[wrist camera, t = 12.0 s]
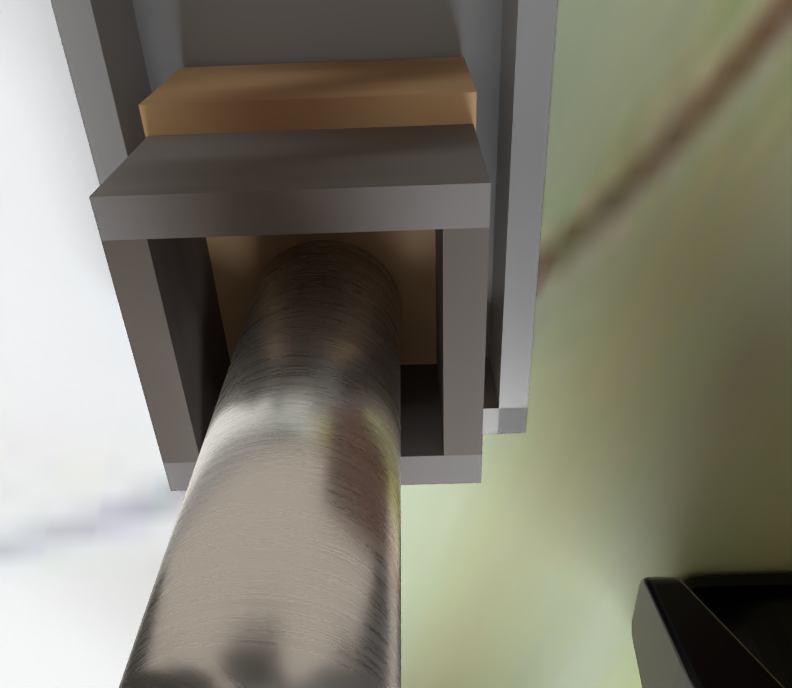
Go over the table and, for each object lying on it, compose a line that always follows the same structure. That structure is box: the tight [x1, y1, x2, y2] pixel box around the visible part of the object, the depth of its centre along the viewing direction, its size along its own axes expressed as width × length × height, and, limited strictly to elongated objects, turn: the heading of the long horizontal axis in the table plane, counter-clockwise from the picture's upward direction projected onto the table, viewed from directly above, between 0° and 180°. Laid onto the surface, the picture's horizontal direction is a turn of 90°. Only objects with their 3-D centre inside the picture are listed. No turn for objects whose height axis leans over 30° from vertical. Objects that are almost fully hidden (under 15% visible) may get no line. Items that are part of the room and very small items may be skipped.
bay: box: [51, 0, 558, 434], centre depth 15 cm, size 9×18×3 cm, turn 2°
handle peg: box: [119, 240, 401, 688], centre depth 11 cm, size 3×3×9 cm
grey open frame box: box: [89, 56, 491, 491], centre depth 15 cm, size 6×7×6 cm
